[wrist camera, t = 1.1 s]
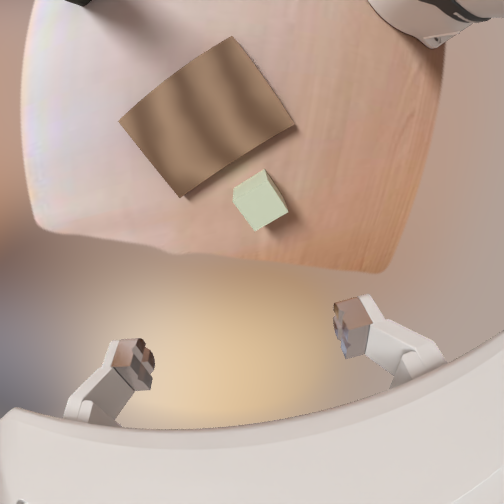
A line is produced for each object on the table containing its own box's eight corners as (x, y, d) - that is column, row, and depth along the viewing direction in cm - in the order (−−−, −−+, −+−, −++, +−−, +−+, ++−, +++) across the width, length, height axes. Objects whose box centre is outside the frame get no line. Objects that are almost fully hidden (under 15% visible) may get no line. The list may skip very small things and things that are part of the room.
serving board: (232, 38, 25) (232, 35, 24) (292, 123, 32) (294, 124, 31) (122, 119, 30) (118, 121, 29) (181, 194, 37) (179, 198, 36)
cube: (264, 168, 35) (267, 180, 31) (283, 197, 38) (288, 211, 34) (233, 187, 37) (232, 201, 33) (253, 214, 39) (254, 231, 35)
